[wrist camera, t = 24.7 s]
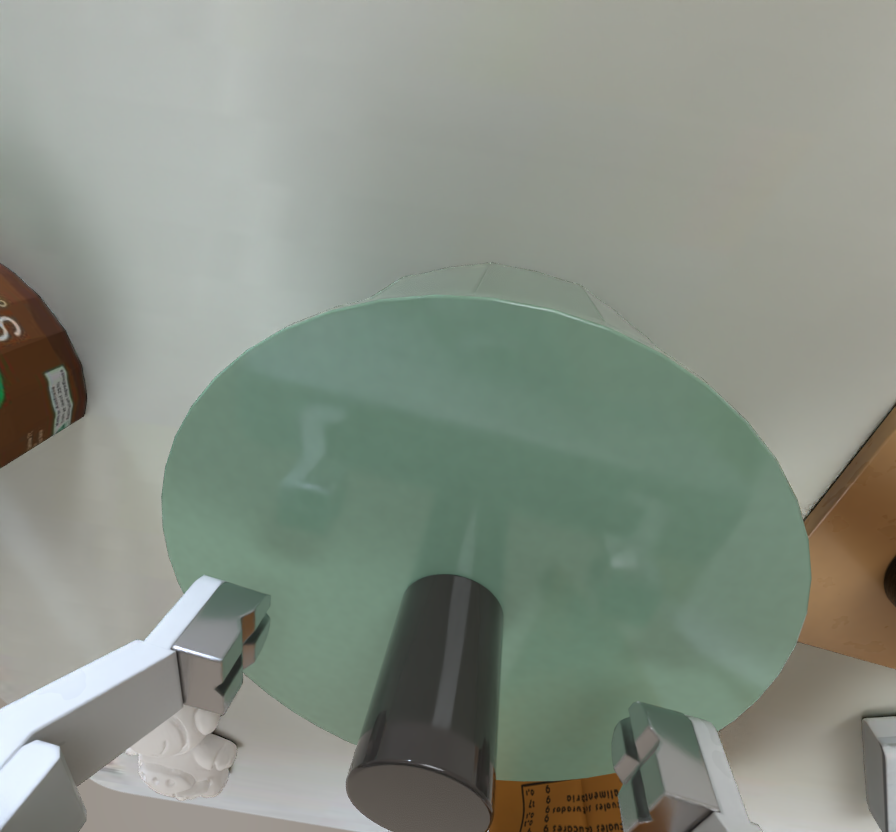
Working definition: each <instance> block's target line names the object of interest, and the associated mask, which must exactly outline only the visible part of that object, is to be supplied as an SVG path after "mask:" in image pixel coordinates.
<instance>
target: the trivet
mask: <svg viewBox="0 0 896 832" xmlns="http://www.w3.org/2000/svg"><path fill="white" fill-rule="evenodd" d="M804 525H805V528H806V531H807V535H808V538H809V550H810V563H811V576H812V579H811V587H810V594H809V602H808V610H807V615H806V618H805V621H804V623H803V626H802V629H801V632H800V635H799V638H798V641H797V642H801V643H804V644H808V645H811V646H815V647H818V648H822V649H825V650H829V651H832V652H836V653H840V654H843V655H847V656H850V657H854V658H857V659H861V660H864V661H868V662H871V663H875V664H879V665H882V666H886V667H889V668H893V669H896V607H895V606H894V605H893V604H892V603H891V602H890V600H889V599H888V598H887V595H886V593H885V590H884V576H885V573H886V571H887V568H888V566H889V565H890V563H891V562H892V561H893V559H894V558H895V557H896V406H895V407H894V408H893V410H892V411H891V412H890V413H889V415H888V416H887V417H886V419H885V420H884V421H883V422H882V424H881V425H880V426H879V427H878V429H877V430H876V431H875V432H874V434H873V435H872V436H871V437H870V439H869V440H868V441H867V443H866V444H865V445H864V446H863V448H862V449H861V450H860V451H859V453H858V454H857V455H856V456H855V458H854V459H853V460H852V462H851V463H850V464H849V465H848V467H847V468H846V469H845V470H844V472H843V473H842V474H841V475H840V477H839V478H838V479H837V481H836V482H835V483H834V484H833V486H832V487H831V488H830V489H829V491H828V492H827V493H826V494H825V496H824V497H823V498H822V499H821V501H820V502H819V503H818V505H817V506H816V507H815V508H814V510H813V511H812V512H811V513H810V515H809V516H808V517H807V518H806V520H805V521H804Z"/></svg>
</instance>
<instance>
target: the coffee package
mask: <svg viewBox="0 0 896 832" xmlns="http://www.w3.org/2000/svg"><path fill="white" fill-rule="evenodd" d="M622 785H623V783H622V782H621V780H620V779H619V777H618V775H617V774H616V773H613V774H607V775H601V776H596V777H590V778H582V779H572V780H561V781H529V782H522V781H504V780H496V790H495V810H494V820H493V822H492V824H491V827H490V828H489V832H623V826H622V820H621V813H620V807H619V801H618V793H619V791H620V789H621V787H622Z"/></svg>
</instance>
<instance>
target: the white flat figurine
mask: <svg viewBox="0 0 896 832" xmlns="http://www.w3.org/2000/svg"><path fill="white" fill-rule="evenodd" d="M220 717H221V714H217V713H213V712H210V711H206V710H202V709H198V708H195V707H191V706H187V705H184V704H183V708H182V709H181V710H179V711H178V712H177V713H175V714H174V715H173V716H171V717H170V718H169V719H167V720H166V721H165V722H163V723H162V724H161V725H159V726H158V727H157V728H155V729H154V730H153V731H151V732H150V733H149V734H147V735H146V736H144V737H143V738H142V739H140V740H139V741H138V742H136V743H135V744H134V745H132V746H131V747H130V748H128V749H127V750H126V751H125V753H126V754H128V755H135V754H138V755H139V757H138V764H139V766H140V767H139V769H138V772H139V775H140V777H141V778H142V780H143V781H144V782H145V783H146V784H147V786H148V787H149V788H151V789H152V790H154V791H155V792H157V793H159V794H162V795H165V796H169V797H176V799H177V800H180V801H185V800H186V799H194V798H197V797H200V796H202V797H205V798H209V797H215V796H217V795H219V794H220V793H221V791H222V790H223V788H224V786H225V784H226V782H227V780H228V777H229V769H228V768H229V767H230V766H231V765H232V764H233V763H234V761H235V759H236V756H237V747H236V745H235V744H234V743H233V742H231V741H229V740H227V739H224V738H222V737H219V736H217V735H214V734H212V733H211V732H213V731H214V730H215V729H216V727H217V725H218V723H219V720H220Z"/></svg>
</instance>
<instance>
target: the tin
mask: <svg viewBox="0 0 896 832" xmlns="http://www.w3.org/2000/svg"><path fill="white" fill-rule="evenodd" d="M884 590H885V593H886V595H887V598H888V599H889V600H890V602H891V603H892V604H893V605H894V606H895V607H896V557H895V558H894V559H893V561H892V562H891V563H890V565H889V566H888V568H887V571H886V573H885V576H884Z"/></svg>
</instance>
